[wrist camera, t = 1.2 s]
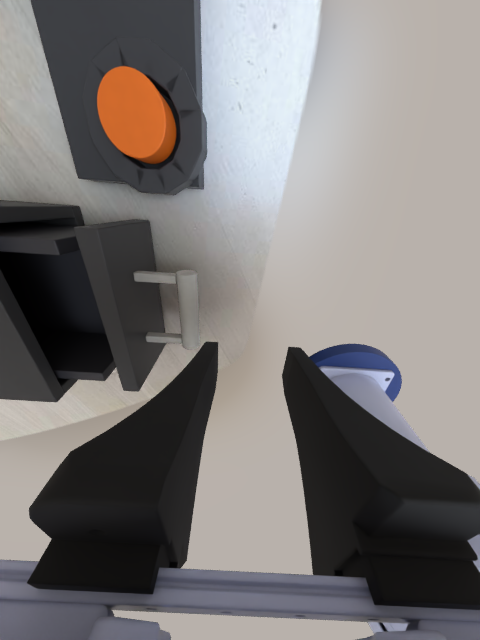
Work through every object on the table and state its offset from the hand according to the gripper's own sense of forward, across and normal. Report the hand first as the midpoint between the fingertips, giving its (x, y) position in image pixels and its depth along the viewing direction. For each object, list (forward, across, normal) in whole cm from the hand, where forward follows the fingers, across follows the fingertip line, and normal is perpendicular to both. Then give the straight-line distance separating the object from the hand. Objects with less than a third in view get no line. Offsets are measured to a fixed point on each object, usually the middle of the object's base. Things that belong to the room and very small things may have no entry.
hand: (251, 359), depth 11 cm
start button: (+6, +7, -10) cm, 14 cm away
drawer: (+9, +13, 0) cm, 15 cm away
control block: (+9, +8, -13) cm, 18 cm away
